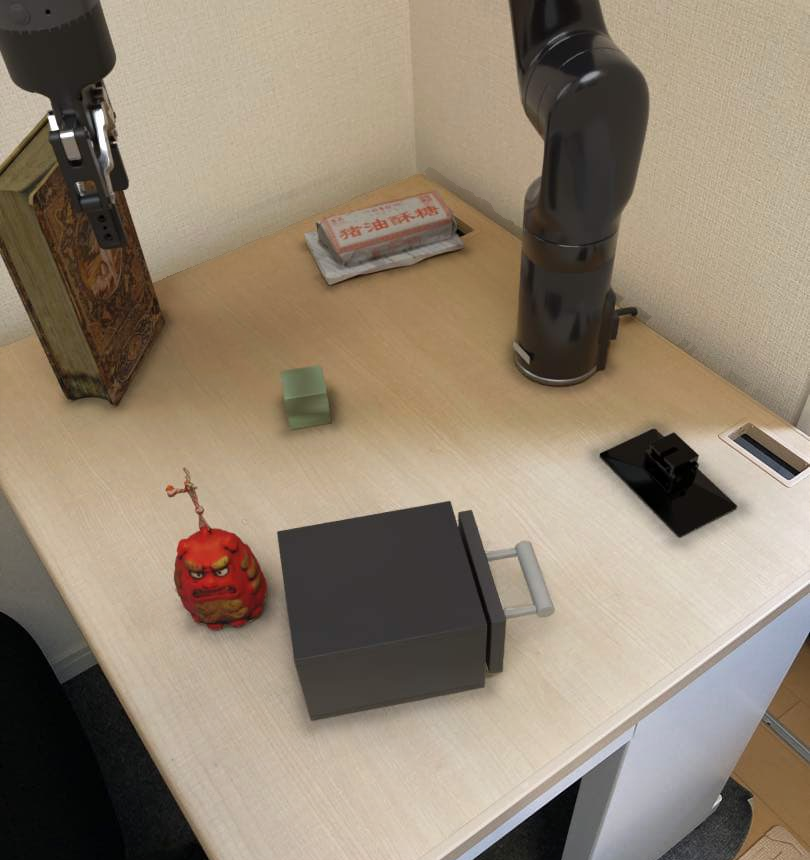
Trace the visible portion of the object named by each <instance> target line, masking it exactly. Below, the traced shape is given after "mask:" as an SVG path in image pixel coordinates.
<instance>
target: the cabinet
mask: <svg viewBox="0 0 810 860" xmlns="http://www.w3.org/2000/svg"><path fill="white" fill-rule="evenodd" d="M276 534H277V542H278V549H279V550H278V551H279V557H280V565H281V566H280V567H281V573H282V580H283V587H284V596H285V604H286V611H287V617H288V618H287V620H288V625H289V632H290V634H289V635H290V641H291V649H292V655H293V662H294V665H295V669H296V674H297V676H298V677H297V678H298V680H299V684H300V687H301V691H302V696H303V699H304V702H305V706H306V709H307V714H308V717H309V720H310V721H311V722H315V721H319V720H324V719H329V718H334V717H339V716H344V715H345V716H346V715H350V714H354V713H360V712H365V711H370V710H375V709H380V708H385V707H391V706H396V705H400V704H406V703H411V702H415V701H416V702H417V701H421V700H428V699H431V698H432V699H433V698H437V697H443V696H447V695H452V694H457V693H463V692H468V691H473V690H478V689H483V688H485V684H486V683H485V681H486V638H487V622H486V619H485V615H484V612H483V609H482V605H481V602H480V599H479V595H478V592H477V588H476V585H475V582H474V578H473V575H472V572H471V568H470V565H469V562H468V558H467V555H466V551H465V548H464V545H463V541H462V538H461V535H460V531H459V528H458V520H457V518H456V515H455V512H454V508H453V505H452V501H451V500H446V501H441V502H436V503H430V504H424V505H418V506H413V507H407V508H403V509H395V510H391V511H385V512H379V513H374V514H373V513H372V514H368V515H362V516H361V515H360V516H356V517H351V518H345V519H339V520H334V521H328V522H323V523H317V524H311V525H306V526H305V525H304V526H300V527H294V528H288V529H283V530H278V531H277V532H276Z"/></svg>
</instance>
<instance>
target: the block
mask: <svg viewBox="0 0 810 860" xmlns="http://www.w3.org/2000/svg"><path fill="white" fill-rule="evenodd" d="M279 374H280V382H281V388H282V395H283V400H284V407H285V410H286V415H287V420H288V425H289V429H290V431H292V430H298V429H305V428H310V427H311V428H312V427H317V426H322V425H329V424H332V416H331V409H330V402H329V396H328V390H327V386H326V380H325V375H324V370H323V365H322V364H318V365H310V366H304V367H297V368H292V369H286V370H280V371H279Z"/></svg>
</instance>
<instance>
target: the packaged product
mask: <svg viewBox="0 0 810 860" xmlns="http://www.w3.org/2000/svg"><path fill="white" fill-rule="evenodd" d="M315 225H316V230H313V231H308V232H305V233H304V234H303V236H304V238H305V241H306V245H307V247H308V249H309V251H310V252H311V255H312V256H313V258H314V260H315V262H316V265H317V266H318V268H319V271H320V273H321V274H322V276H323V277H324V279H325V281H326V282H327V284H328V286H331V285H334V284H337V283H339V282H342V281H345V280H347V279H350V278H353V277H356V276H358V275H367V274H372V273H376V272H381V271H385V270H390V269H393V268H399V267H406V266H407V267H408V266H413V265H415V264H417V263H419V262H421V261H423V260H425V259H428V258H431V257H434V256H438V255H441V254H444V253H448V252H452V251H453V252H454V251H458V250H462V249H463V248H464V246H465V243H464V241H463V240H462V239H461V237H460V236H459V235H458V233H457V230H458V223H457V220H456V219H455V217H454V211H452V209H451V207H450V206H449V205H447V203H446V202H445V200H444V197H443V196H442V195H441V194H440V192H439V190H436V189H434V190H430V191H427V192H426V191H425V192H421V193H418V194H414V195H410V196H409V195H408V196H406V197H402V198H397V199H393V200H389V201H384V202H381V203H378V204H373V205H369V206H365V207H362V208H357V209H355V210H354V209H353V210H350V211H346V212H341V213H338V214H333V215H329V216H326V217H322V218H319V219H318V220H317V221H316V222H315Z"/></svg>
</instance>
